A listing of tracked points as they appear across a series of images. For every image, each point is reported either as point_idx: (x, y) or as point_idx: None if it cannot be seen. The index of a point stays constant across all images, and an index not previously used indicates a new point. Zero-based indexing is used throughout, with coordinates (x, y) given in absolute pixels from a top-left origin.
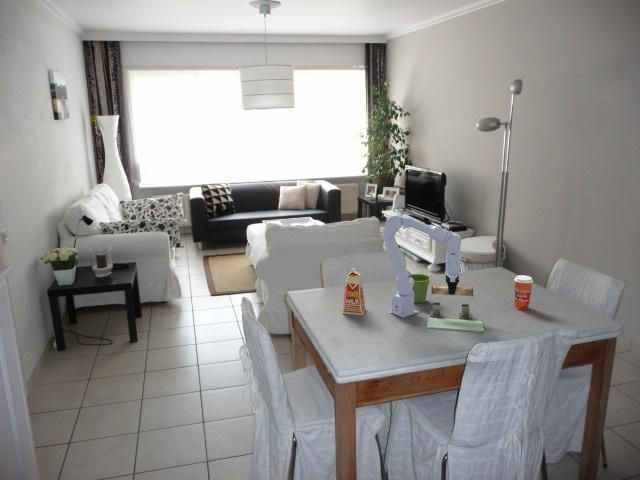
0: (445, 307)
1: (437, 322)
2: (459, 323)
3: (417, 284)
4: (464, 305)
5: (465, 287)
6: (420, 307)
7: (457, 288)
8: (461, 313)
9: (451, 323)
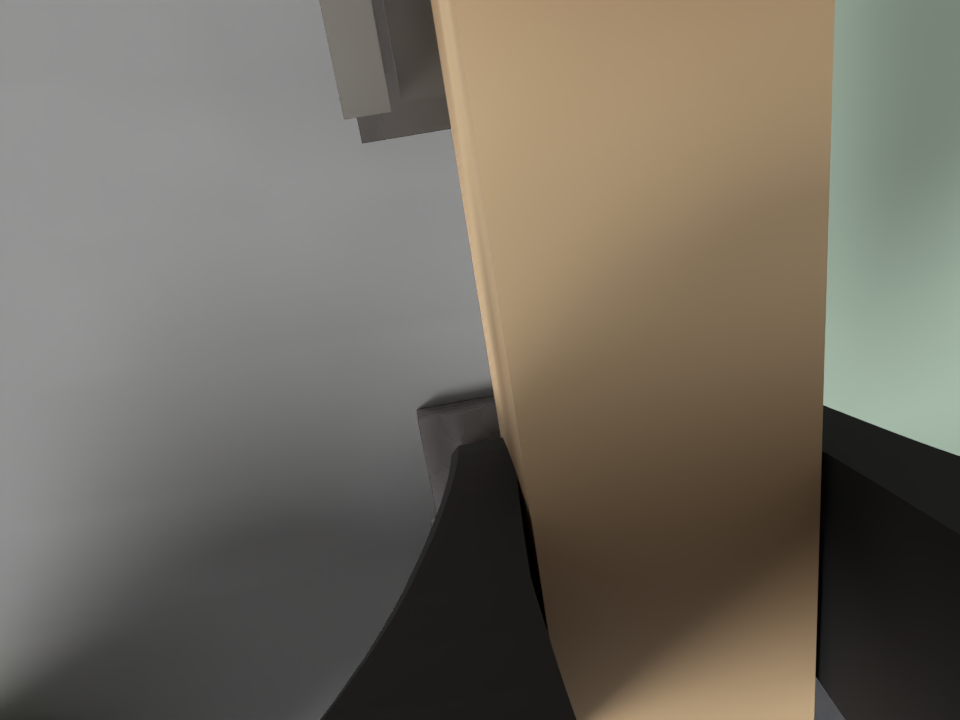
0: (132, 412)
1: (887, 396)
2: (890, 59)
3: None
4: (376, 41)
5: (511, 46)
6: (306, 711)
7: (759, 403)
8: (388, 90)
9: (903, 193)
